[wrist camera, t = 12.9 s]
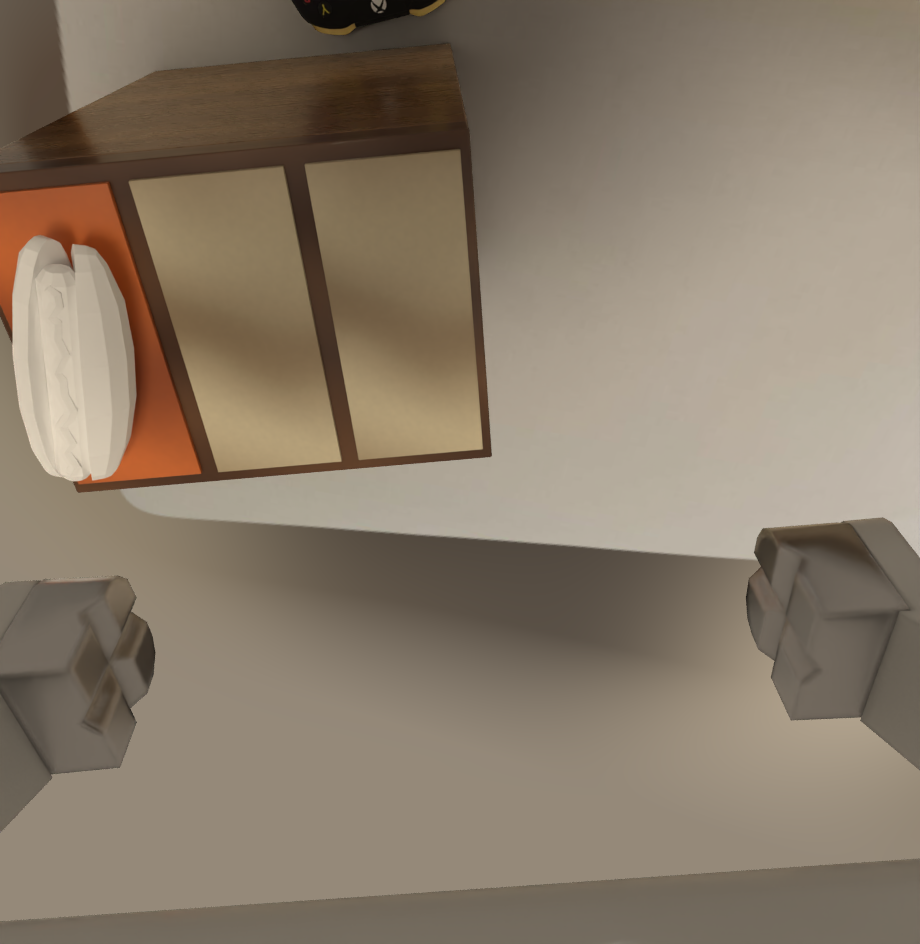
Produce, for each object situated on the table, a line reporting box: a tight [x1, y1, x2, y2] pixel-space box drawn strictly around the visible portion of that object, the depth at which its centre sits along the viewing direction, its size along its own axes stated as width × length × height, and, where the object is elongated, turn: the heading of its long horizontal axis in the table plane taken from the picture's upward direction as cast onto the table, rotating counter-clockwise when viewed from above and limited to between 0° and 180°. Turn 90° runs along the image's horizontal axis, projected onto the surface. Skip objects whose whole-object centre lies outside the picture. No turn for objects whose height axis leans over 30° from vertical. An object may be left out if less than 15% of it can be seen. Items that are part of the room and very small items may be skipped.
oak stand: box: [0, 43, 468, 165], centre depth 34 cm, size 11×15×20 cm
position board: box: [0, 121, 492, 493], centre depth 25 cm, size 11×15×1 cm
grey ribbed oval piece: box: [12, 235, 136, 481], centre depth 24 cm, size 3×8×3 cm, turn 169°
